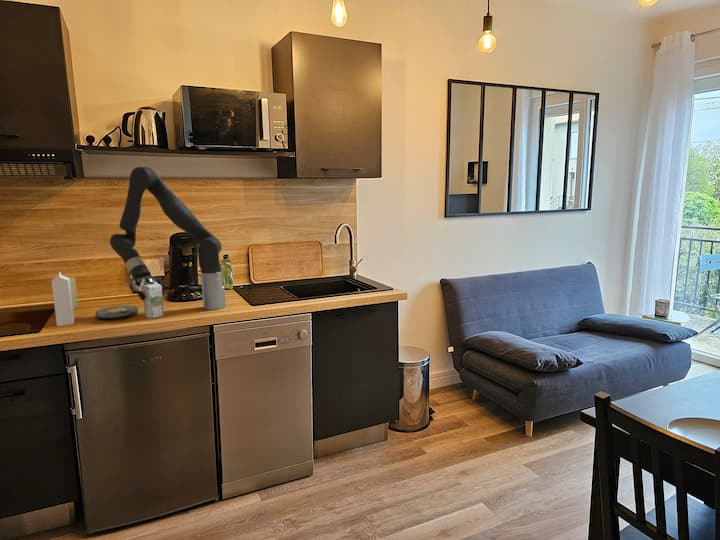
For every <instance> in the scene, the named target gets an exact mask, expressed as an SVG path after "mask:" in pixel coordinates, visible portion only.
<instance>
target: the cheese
mask: <svg viewBox="0 0 720 540" xmlns="http://www.w3.org/2000/svg"><path fill="white" fill-rule="evenodd" d="M68 278H69V279H70V288H71V296H72V305H73V310H75V309H76V308H77V307H78V305H79V304H78V292H77V291H78V290H77V284H76V283H77V282H76V278H75V277H74V276H73V277H72V276H71V277H68ZM53 279H54V278H52V279H51V282H52V281H53Z"/></svg>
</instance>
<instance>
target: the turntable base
mask: <svg viewBox="0 0 720 540" xmlns="http://www.w3.org/2000/svg"><path fill="white" fill-rule="evenodd" d="M130 317H131V316H128V317H123V318H115V319H105V320H108V321H112V320H114V321H116V320H121V319H126V318H130Z"/></svg>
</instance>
